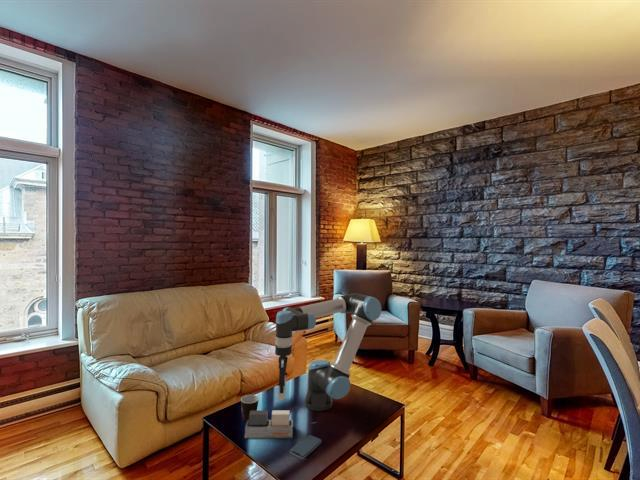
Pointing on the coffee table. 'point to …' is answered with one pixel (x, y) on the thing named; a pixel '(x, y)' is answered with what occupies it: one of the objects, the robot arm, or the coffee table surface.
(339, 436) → the coffee table surface
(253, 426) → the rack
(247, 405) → the coffee mug
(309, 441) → the smartphone
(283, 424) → the beige rectangular block
